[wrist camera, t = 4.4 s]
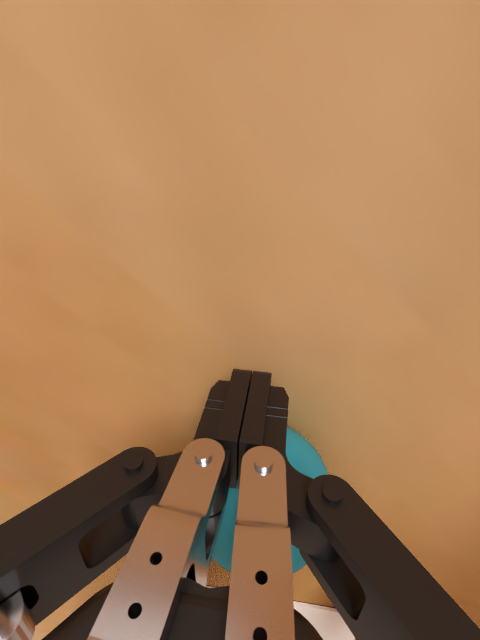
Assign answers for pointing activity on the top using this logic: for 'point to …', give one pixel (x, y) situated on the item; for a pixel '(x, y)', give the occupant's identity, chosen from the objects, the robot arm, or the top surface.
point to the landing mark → (324, 621)
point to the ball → (297, 455)
